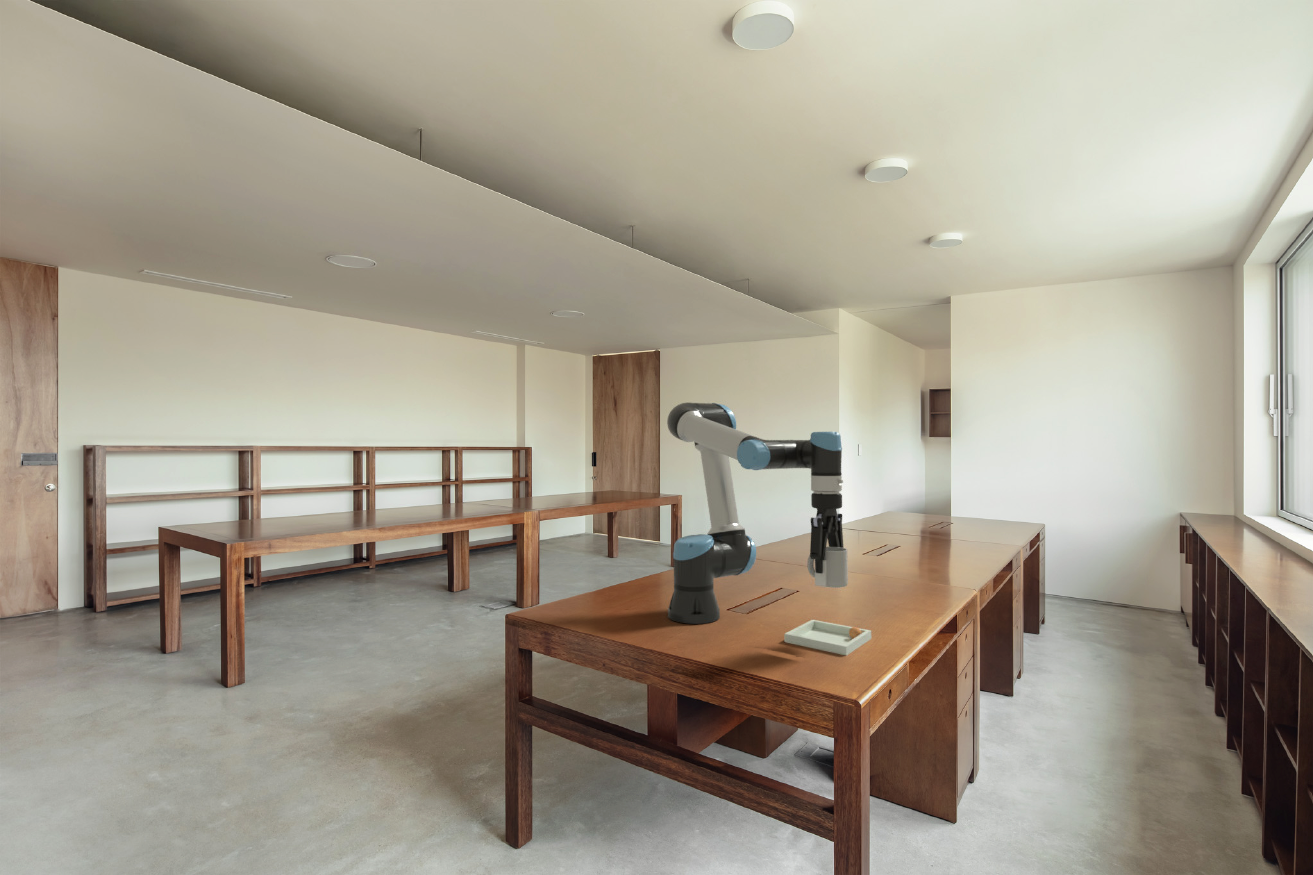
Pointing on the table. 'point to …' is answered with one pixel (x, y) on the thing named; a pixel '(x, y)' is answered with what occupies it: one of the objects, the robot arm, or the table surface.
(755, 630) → the table surface
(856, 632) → the ball
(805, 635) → the tray
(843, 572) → the cup
